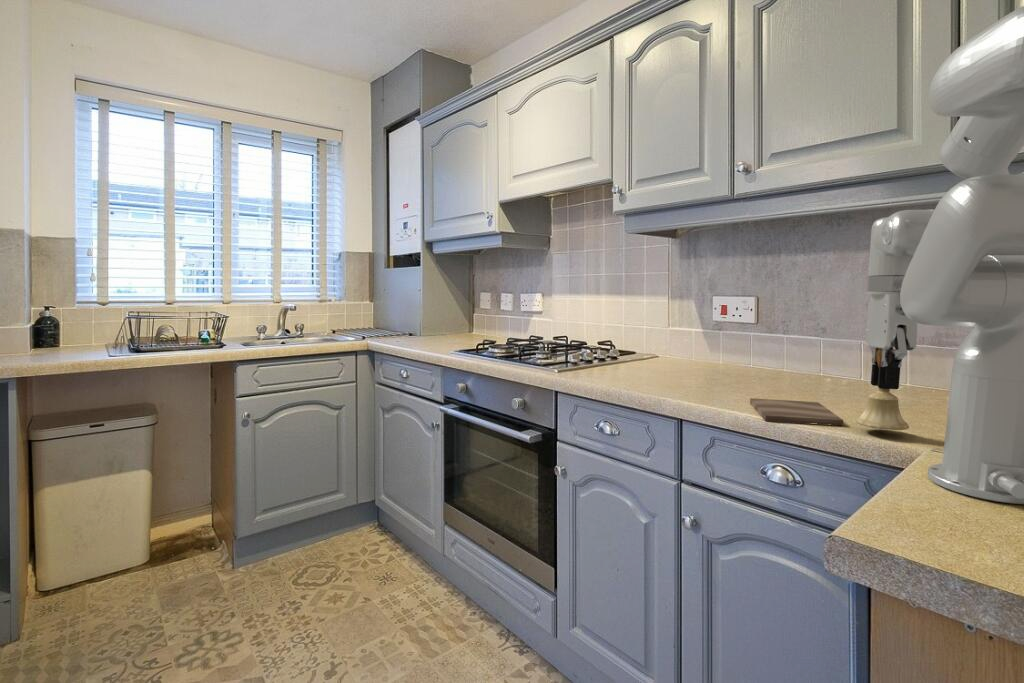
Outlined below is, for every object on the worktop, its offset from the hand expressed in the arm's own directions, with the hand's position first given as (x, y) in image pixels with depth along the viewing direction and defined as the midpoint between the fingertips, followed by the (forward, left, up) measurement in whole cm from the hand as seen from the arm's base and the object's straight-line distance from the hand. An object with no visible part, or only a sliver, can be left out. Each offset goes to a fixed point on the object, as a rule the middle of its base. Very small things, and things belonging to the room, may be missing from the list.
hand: (884, 386), depth 101 cm
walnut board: (+12, +12, -9) cm, 19 cm away
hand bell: (0, 0, -7) cm, 7 cm away
